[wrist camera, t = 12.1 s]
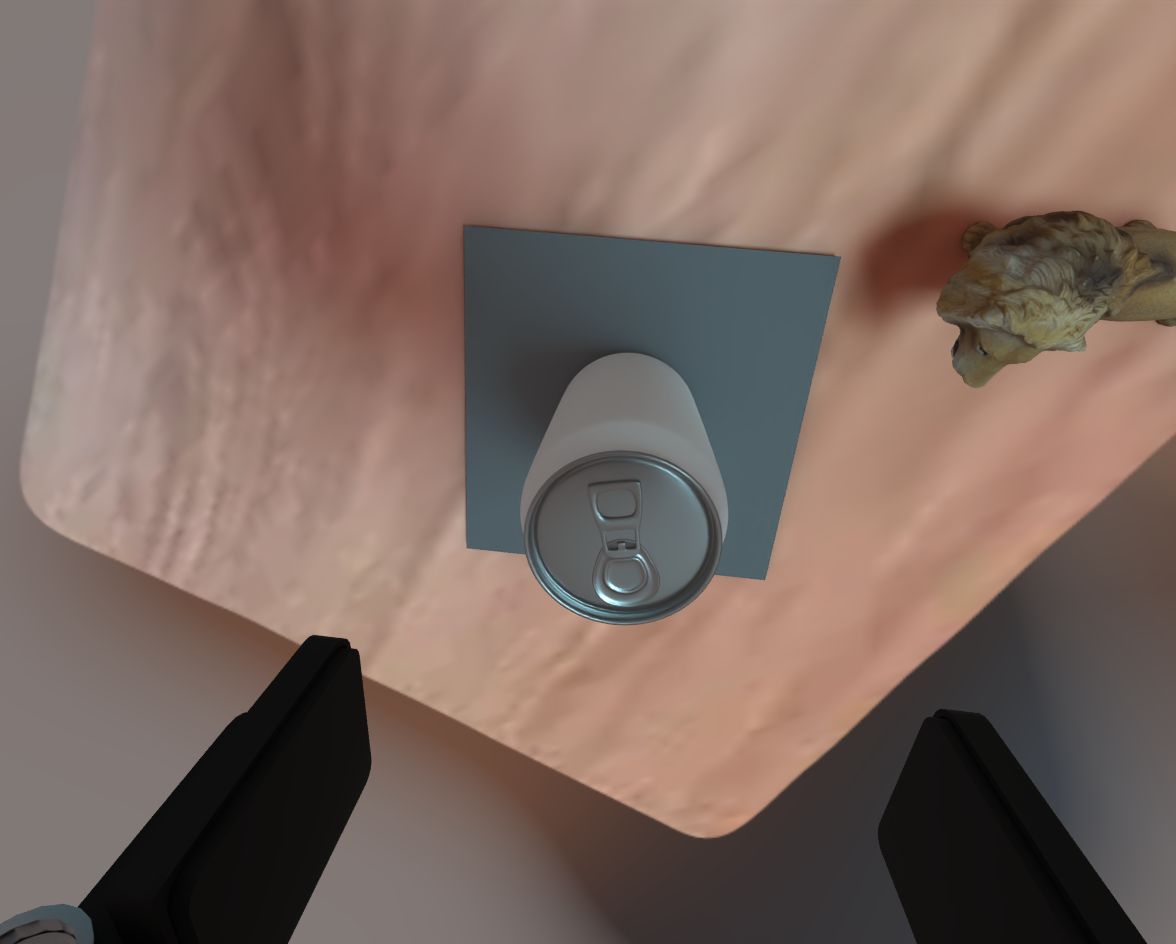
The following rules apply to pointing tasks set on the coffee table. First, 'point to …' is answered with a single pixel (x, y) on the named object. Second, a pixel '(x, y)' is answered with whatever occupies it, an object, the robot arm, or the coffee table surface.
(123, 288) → the coffee table surface
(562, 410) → the can
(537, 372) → the mat
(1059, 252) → the lion figurine
